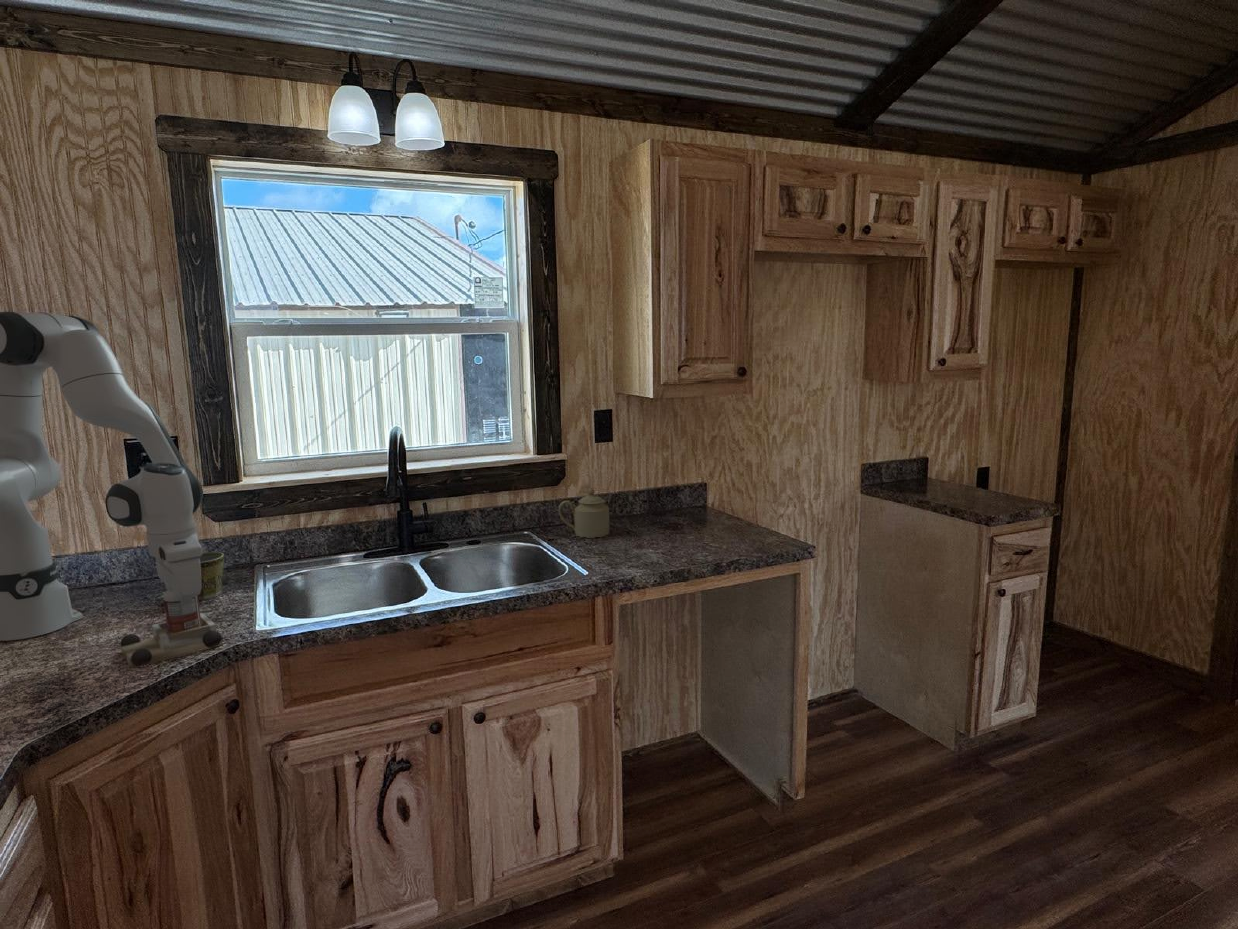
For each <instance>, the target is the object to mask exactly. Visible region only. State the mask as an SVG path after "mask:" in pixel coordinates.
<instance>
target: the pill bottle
mask: <svg viewBox="0 0 1238 929" xmlns="http://www.w3.org/2000/svg"><path fill="white" fill-rule="evenodd" d="M164 584H165V588H166V591H165V592H164V593H163V595H162V600H163V607H164V615H165V622H167V629H168V633H169V634H173V633H177V632H181V631H185V630H189V629H193V628H197V627H201V617H200V613H201V612H200V610H201V609H200V603H199V600H198V595H197V596H193V597H192V604H191V605H192V612H190V613H187V614H183V613H182V612H181V610H180V598H179V596H178V595H177V594H176V593H175V592H174V591H173V590H172V589H171V587H170V583H169V582H168V581H167V580H166V581H165V583H164Z"/></svg>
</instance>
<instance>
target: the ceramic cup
mask: <svg viewBox="0 0 1238 929" xmlns="http://www.w3.org/2000/svg"><path fill="white" fill-rule="evenodd" d="M224 556H225V555H224V553H223V552H220V551H204V552H203V551H202V556H199V559H200V565H201V585H202V586H201V593H200V594H199V595H198V601H206V600H205V599H207V600H211V599H215V598H217V597H218V596H220V595H221V594H222V583H223V571H224V563H225V560H224V559H225V557H224ZM219 594H220V595H219ZM216 596H217V597H216ZM214 597H215V598H214ZM203 599H204V600H203Z"/></svg>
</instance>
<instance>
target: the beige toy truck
mask: <svg viewBox="0 0 1238 929" xmlns="http://www.w3.org/2000/svg"><path fill="white" fill-rule="evenodd" d="M200 617H201V627H197V628H193V629H189V630H185V631H181V632H177V633H173V634H169V633H168V629H167V622H166V621H164V622H163V621H162V622H159V623H155V624H151V630H152V637H150V638H147V639H143V640H141V638H140V637H139V636H138V635H137V634H134V633H130V634H127V635H125V636H124V637H122V638H121V641H120V650H121V654H122V655H123V657H124V659H125V660H126V661H127V662H128V664H129V666H130V665H131V666H130V667H131V668H132V669H133V668H135V669H138V668H142V667H145V666H144V665H146V666H148V665H147V664H150V665H153V664H156V663H155V662H157V663H159V662H158V661H161V662H165V661H168V660H172V659H175V658H180V657H183V656H187V655H189V654H190V655H191V654H194V653H198V652H201V651H205V650H209V649H212V648H216V647H221V646H223V639H222V634H221V633H220V632H218V631H217V628H216V626H217V625H216V623H214V622H213V621H212V620H211V619H210V618H209V617H208V616H207V615H206V614H205V613H204V612H200ZM141 666H142V667H141ZM137 667H138V668H137Z"/></svg>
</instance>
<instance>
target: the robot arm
mask: <svg viewBox="0 0 1238 929" xmlns="http://www.w3.org/2000/svg"><path fill="white" fill-rule="evenodd" d="M50 367H51V368H52V369H53V370H54V372H55V374H56V376H57V379H58V382H59V385H60V389H61V391H62V394H63V396H64V399H65V401H66V403H67V405H68V407H69V409H70V410H71V412H72V413H73V415H74V416H76V417H77V418H79V419H80V420H82V421H84V422H86V423H88V424H90V425H94V426H96V427H100V428H106V429H111V430H115V431H118V432H122V433H124V434H127V435H129V436H132V437H133V438H135V439H136V440H137V441H138V442H139V443H140V444H141V445H142V447H143V449H144V451H145V452H146V454H147V456H148V457H149V459H150V461H151V462H152V463H151V464H148V465H146V466H144V467H142V468H141V469H140V472H139V473H137V474H136V475H134V476H132V477H131V478H128V479H125V480H122V481H120V482H117V483H114V484H113V485H112V486H111V487H110V488H109V490H108V491H107V493H106V496H105V502H104V503H105V509H106V512H107V515H108V517H109V519H111V520H112V521H113V522H114V523H115V524H118V525H119V526H121V527H124V528H125V527H126V528H128V527H130V528H131V527H138V526H143V525H144V526H145V527H146V532H145V534H146V542H147V548H148V555H149V556H150V557H153V558H155V561H156V562H155V563H156V570H157V576H158V578H159V579H160V580H161V581H162V582H163V583H164V584H165V581H166V580H167V581H168V582H169V583H170V587H171V589H172V590H173V591H174V592H175V593H176V594H177V595H178V596H179V598H180V610H181V612H182V613H183V614H187V613H190V612H192V605H191V604H192V597H193V596H197V595H199V594H200V593H201V586H202V585H201V565H200V559H199V556H202V553H203V548H202V545H201V543H200V541H199V535H198V530H197V528H198V527H197V524H196V521H195V519H194V516H193V515H194V514H195V513H196V512H197V510H198V508H199V507H200V505H201V503H202V501H203V497H204V489H203V486H202V484H201V482H200V480H199V479H198V478H197V476H196V475H195V473H193V471H192V470H191V469H190V468H189V467H188V465H187V463H186V462H185V460H184V458H183V456H182V454H181V452H180V451H179V449H178V447H177V446H176V444H175V442H174V440H173V439H172V437H171V435H170V433H169V431H168V429H167V428H166V426H165V425H164V422H163V421H162V419H161V418H160V416H159V415H158V413H157V412H156V411H155V409H154V408H153V407H152V406H151V405H150V404H149V403H146V402H145V401H143V400H142V399H141V398H140V397H139V396H138V395H136V393H135V392H134V391H133V389H132V388H131V387H130V385H129V383H128V381H127V379H126V377H125V374H124V372H123V369H122V367H121V365H120V363H119V360H118V359H117V358H116V355H115V353H114V352H113V350H112V348H111V347H110V345H109V344H108V343H107V341H106V339H105V338H104V337H103V336H102V335H101V334H100V330H99V329H98V328H97V327H96V325H95V324H93V322H91V321H89V320H87V319H84V318H81V317H78V316H75V315H63V314H59V313H53V312H40V311H39V312H14V311H0V641H1V642H2V641H6V642H7V641H17V640H24V639H29V638H35V637H39V636H42V635H45V634H49V633H53V632H55V631H57V630H60V629H63V628H65V627H67V626H68V625H70V624H71V623H73V622H76V621H78V620H81V619H83V618H84V616H83V614H82V612H80V611H78V610H76V609H74V608H72V603H71V599H70V598H71V597H70V593H69V588H68V585H67V584H64V583H63V582H61V581H60V580H58V568H57V565H56V562H55V561H53V554H52V549H51V548H52V547H51V542H50V536H49V535H50V534H49V531H48V529H47V528H46V526H44V525H43V524H41V523H39V522H38V521H37V520H36V519H35V517H34V515H33V514H32V511H31V510H30V507H29V502H32V501H36V500H38V499H39V500H40V499H41V498H43V497H45V496H46V495H48V494H49V493H50V492H52V491H53V490H54V489H56V488H57V487H58V485H59V484H60V482H61V479H62V468H61V467H60V465H59V463H58V462H57V460H56V459H54V458H53V457H52V456H51V455H50V453H49V450H48V447H47V444H46V440H45V436H44V431H43V394H44V393H43V377H44V374H45V372H46V371H47V369H49V368H50Z"/></svg>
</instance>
